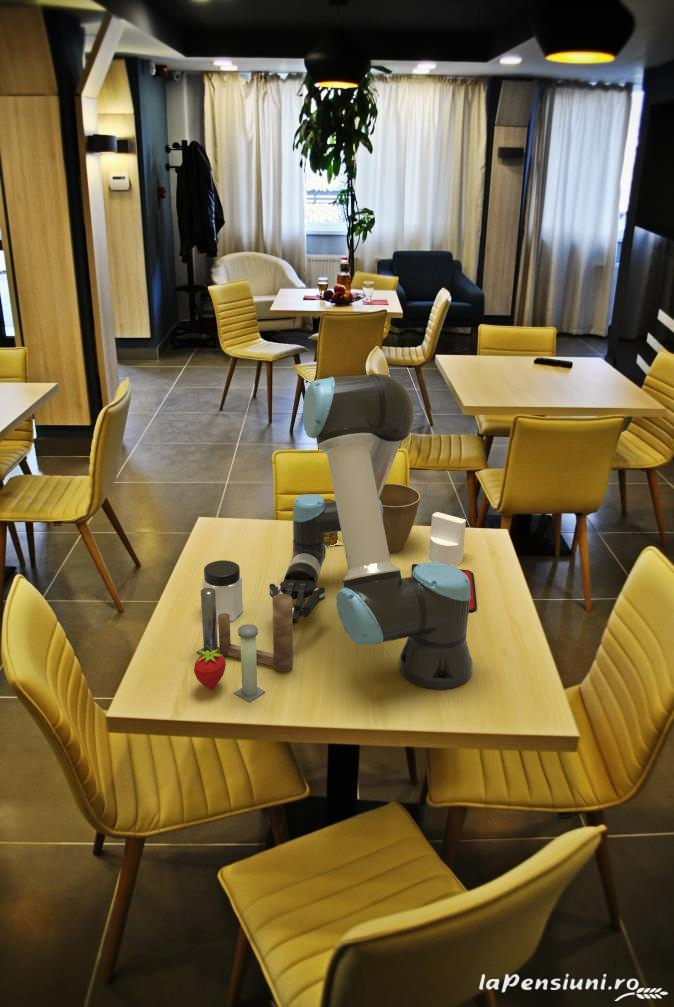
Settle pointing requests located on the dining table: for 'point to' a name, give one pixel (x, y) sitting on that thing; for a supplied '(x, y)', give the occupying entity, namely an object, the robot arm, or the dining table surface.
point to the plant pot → (398, 514)
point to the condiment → (330, 534)
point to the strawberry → (209, 668)
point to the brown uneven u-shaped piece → (281, 636)
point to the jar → (225, 587)
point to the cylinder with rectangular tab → (447, 539)
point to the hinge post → (209, 620)
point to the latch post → (248, 663)
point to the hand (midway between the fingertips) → (284, 628)
